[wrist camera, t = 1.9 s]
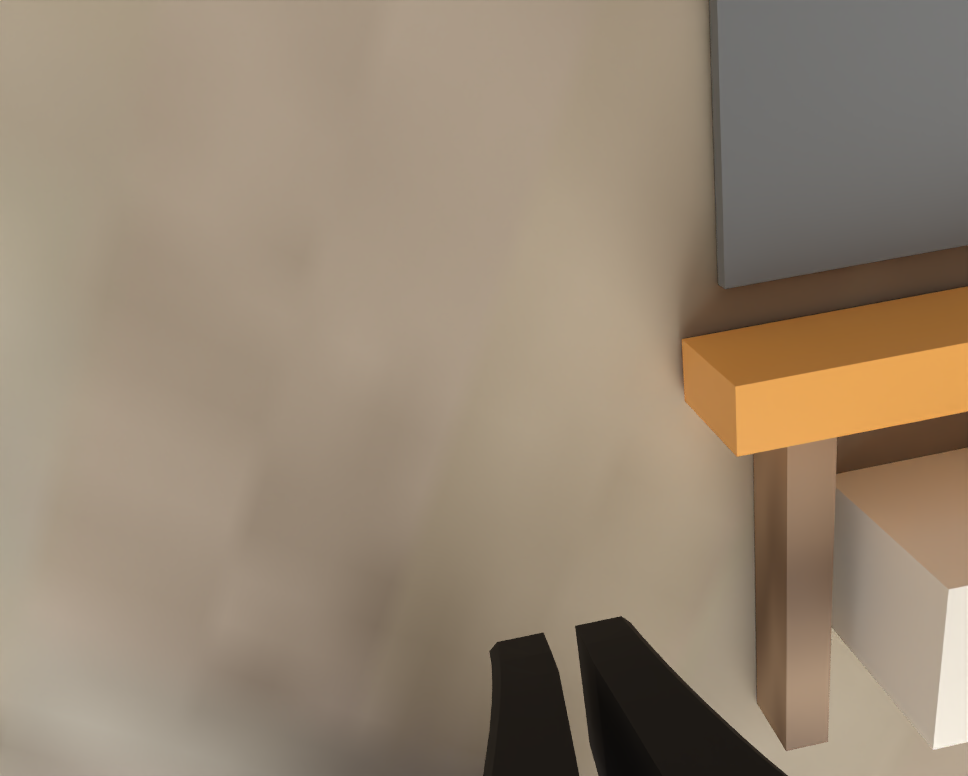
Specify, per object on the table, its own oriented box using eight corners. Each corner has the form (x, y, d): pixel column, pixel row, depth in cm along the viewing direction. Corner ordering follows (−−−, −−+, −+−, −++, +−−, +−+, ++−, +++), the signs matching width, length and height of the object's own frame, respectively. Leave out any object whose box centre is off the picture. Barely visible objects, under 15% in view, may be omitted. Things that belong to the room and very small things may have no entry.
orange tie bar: (1143, 313, 21) (1264, 353, 18) (685, 401, 20) (737, 456, 17) (1154, 251, 20) (1281, 283, 17) (681, 339, 19) (735, 386, 16)
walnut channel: (1023, 644, 25) (1071, 687, 23) (757, 703, 24) (786, 751, 22) (1069, 335, 21) (1130, 359, 19) (752, 395, 20) (787, 425, 18)
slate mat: (1117, 212, 20) (1131, 215, 19) (718, 284, 19) (725, 289, 19) (1200, -304, 16) (1220, -312, 15) (702, -237, 15) (710, -244, 15)
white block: (968, 580, 24) (1115, 708, 19) (820, 612, 23) (932, 749, 19) (983, 443, 22) (1149, 546, 17) (823, 475, 21) (948, 589, 17)
